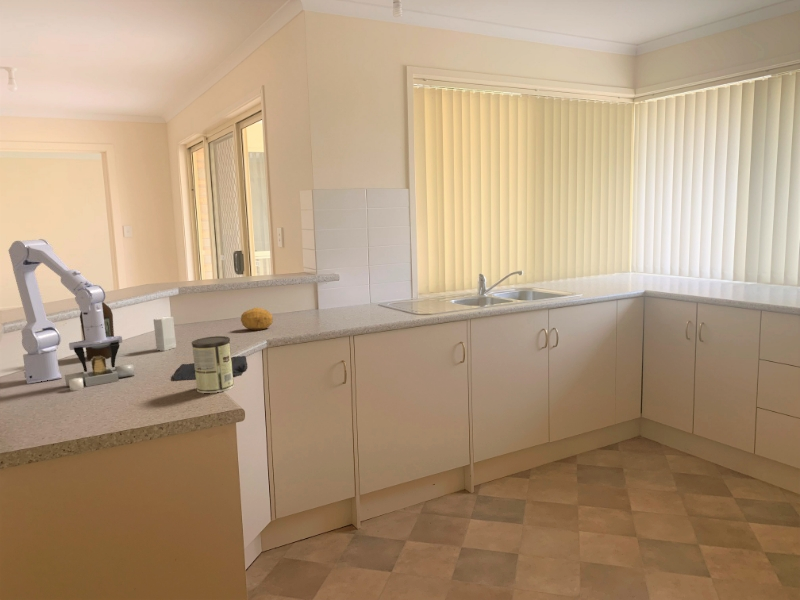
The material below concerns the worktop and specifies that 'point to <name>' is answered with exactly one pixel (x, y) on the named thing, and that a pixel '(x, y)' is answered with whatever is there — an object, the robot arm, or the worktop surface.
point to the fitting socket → (101, 379)
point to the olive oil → (108, 322)
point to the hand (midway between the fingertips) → (99, 369)
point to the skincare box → (164, 333)
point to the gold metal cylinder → (98, 365)
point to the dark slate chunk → (189, 374)
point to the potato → (256, 319)
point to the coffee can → (213, 364)
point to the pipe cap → (76, 384)
